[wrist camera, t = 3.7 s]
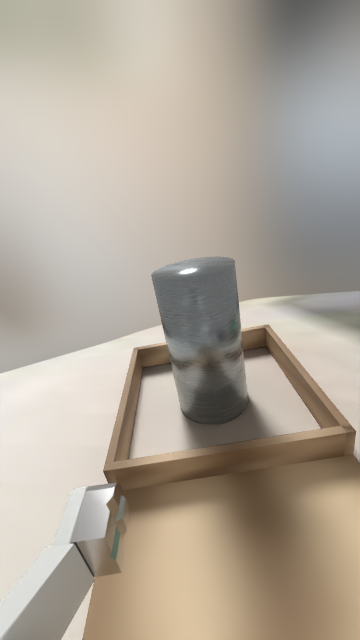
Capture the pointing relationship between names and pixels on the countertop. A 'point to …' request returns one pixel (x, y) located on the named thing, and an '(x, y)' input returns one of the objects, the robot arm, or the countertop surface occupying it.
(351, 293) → the countertop surface
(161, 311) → the slate tin
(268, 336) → the wooden tray board
